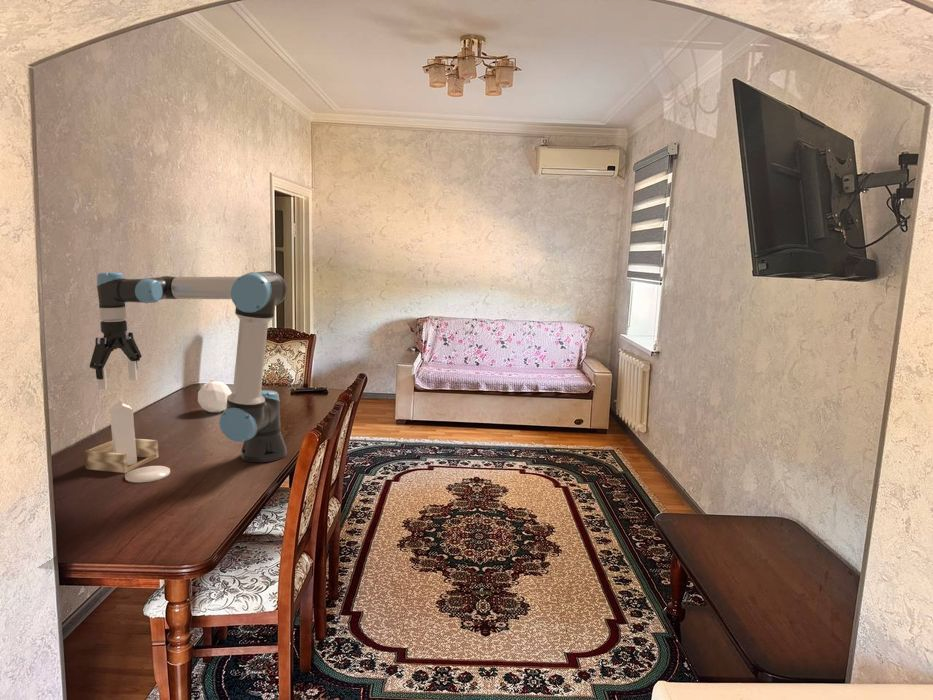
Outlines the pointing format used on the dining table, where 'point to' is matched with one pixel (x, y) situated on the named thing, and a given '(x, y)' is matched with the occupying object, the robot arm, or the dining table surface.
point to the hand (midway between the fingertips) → (118, 384)
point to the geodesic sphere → (213, 396)
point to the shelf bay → (119, 456)
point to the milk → (123, 431)
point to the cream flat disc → (147, 474)
